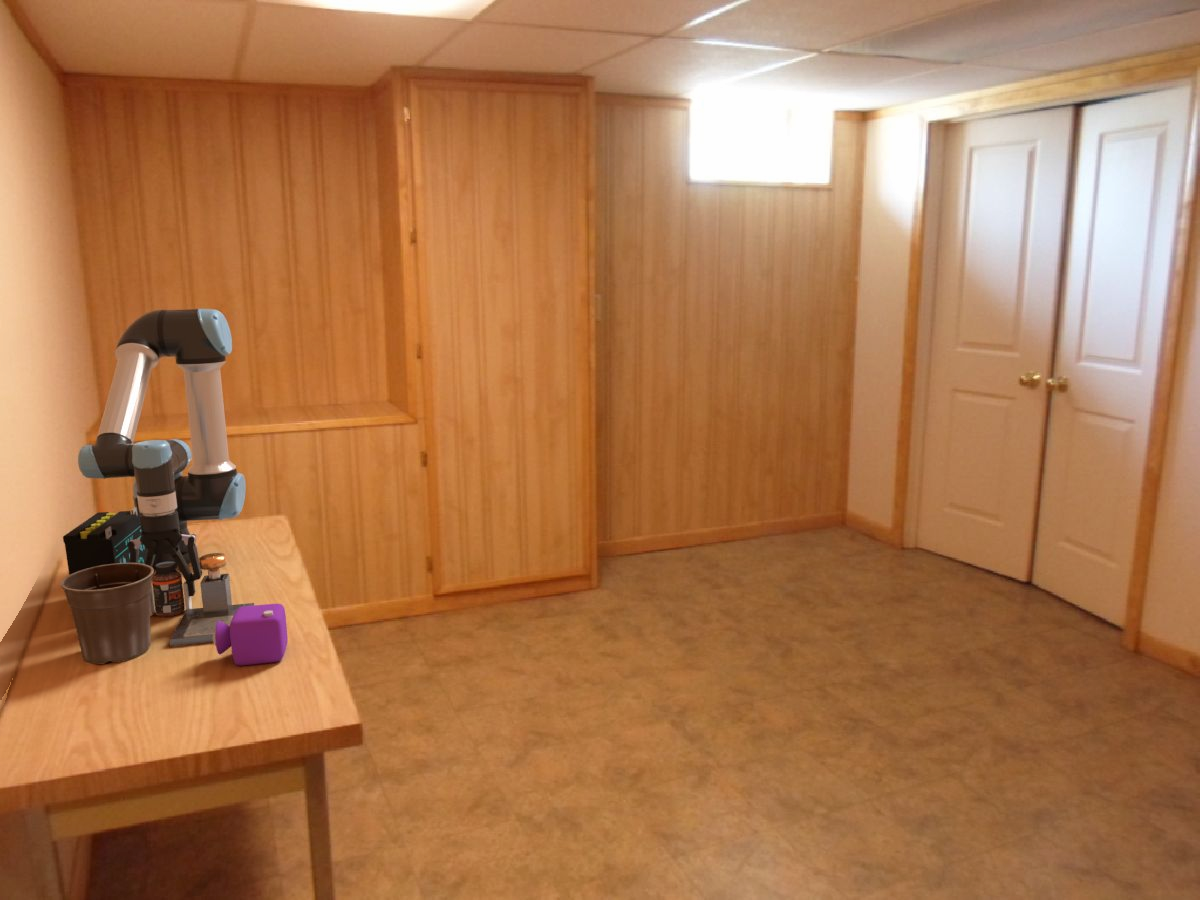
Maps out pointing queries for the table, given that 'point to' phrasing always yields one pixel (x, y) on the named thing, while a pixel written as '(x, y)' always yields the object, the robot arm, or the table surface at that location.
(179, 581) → the supplement bottle
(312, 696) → the table surface
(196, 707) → the table surface
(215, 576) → the plunger
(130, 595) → the plant pot
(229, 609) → the base
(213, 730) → the table surface
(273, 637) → the toy camera
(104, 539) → the battery
